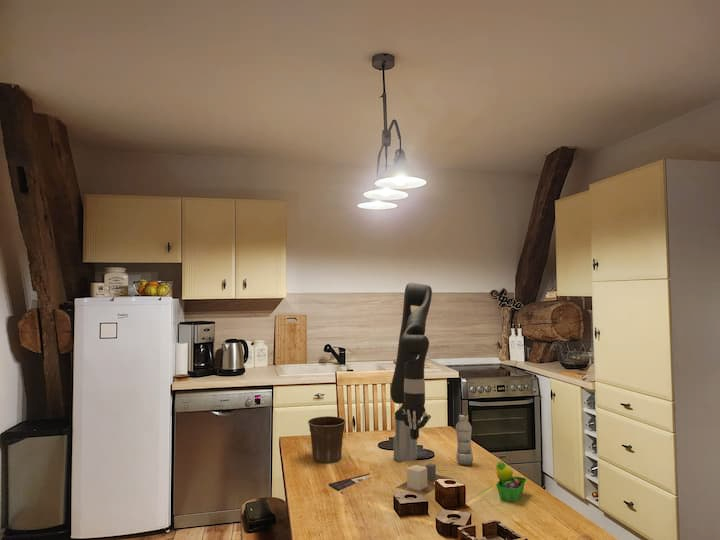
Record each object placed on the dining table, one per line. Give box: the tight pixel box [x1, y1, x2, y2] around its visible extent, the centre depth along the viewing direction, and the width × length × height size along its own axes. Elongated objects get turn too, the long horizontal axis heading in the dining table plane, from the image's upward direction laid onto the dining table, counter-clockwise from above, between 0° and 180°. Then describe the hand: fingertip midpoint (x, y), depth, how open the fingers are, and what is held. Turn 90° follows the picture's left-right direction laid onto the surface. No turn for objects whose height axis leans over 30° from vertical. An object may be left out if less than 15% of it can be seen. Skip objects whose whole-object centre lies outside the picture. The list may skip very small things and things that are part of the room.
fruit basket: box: [495, 461, 527, 503], centre depth 176 cm, size 11×9×11 cm
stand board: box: [395, 473, 454, 496], centre depth 186 cm, size 20×12×1 cm, turn 140°
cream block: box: [406, 464, 427, 491], centre depth 183 cm, size 5×5×7 cm
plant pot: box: [307, 415, 346, 464], centre depth 219 cm, size 16×16×16 cm
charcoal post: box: [425, 462, 437, 481], centre depth 190 cm, size 3×3×5 cm
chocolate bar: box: [328, 473, 373, 494], centre depth 190 cm, size 9×1×18 cm
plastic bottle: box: [455, 413, 474, 466], centre depth 210 cm, size 6×7×20 cm
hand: (414, 439), depth 183 cm, fingers closed
